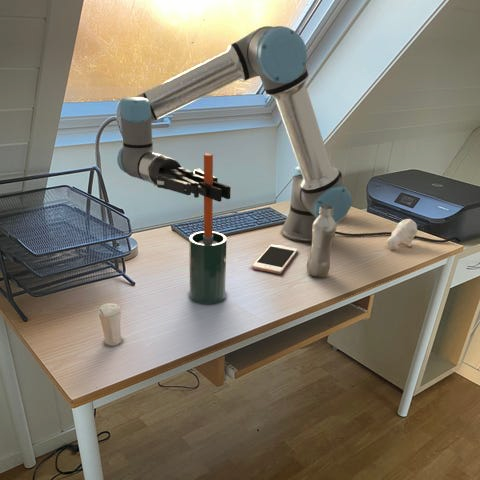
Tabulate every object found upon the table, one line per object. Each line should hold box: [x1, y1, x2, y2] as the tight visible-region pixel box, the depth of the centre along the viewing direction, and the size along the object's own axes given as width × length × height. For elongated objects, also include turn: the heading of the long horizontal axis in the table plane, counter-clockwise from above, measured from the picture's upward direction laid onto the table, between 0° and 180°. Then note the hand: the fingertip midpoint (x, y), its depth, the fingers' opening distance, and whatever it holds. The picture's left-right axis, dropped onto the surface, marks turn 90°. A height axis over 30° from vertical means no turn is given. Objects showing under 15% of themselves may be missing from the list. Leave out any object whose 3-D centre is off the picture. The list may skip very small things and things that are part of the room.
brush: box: [198, 153, 218, 245], centre depth 113 cm, size 5×5×28 cm
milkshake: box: [97, 302, 122, 347], centre depth 102 cm, size 5×5×10 cm
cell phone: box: [251, 243, 298, 275], centre depth 144 cm, size 9×18×1 cm, turn 158°
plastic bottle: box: [306, 205, 337, 278], centre depth 132 cm, size 6×7×20 cm
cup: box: [188, 230, 227, 305], centre depth 120 cm, size 9×9×16 cm
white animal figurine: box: [385, 218, 418, 250], centre depth 156 cm, size 6×8×12 cm
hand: (224, 194), depth 106 cm, fingers closed on brush, 2 cm apart
